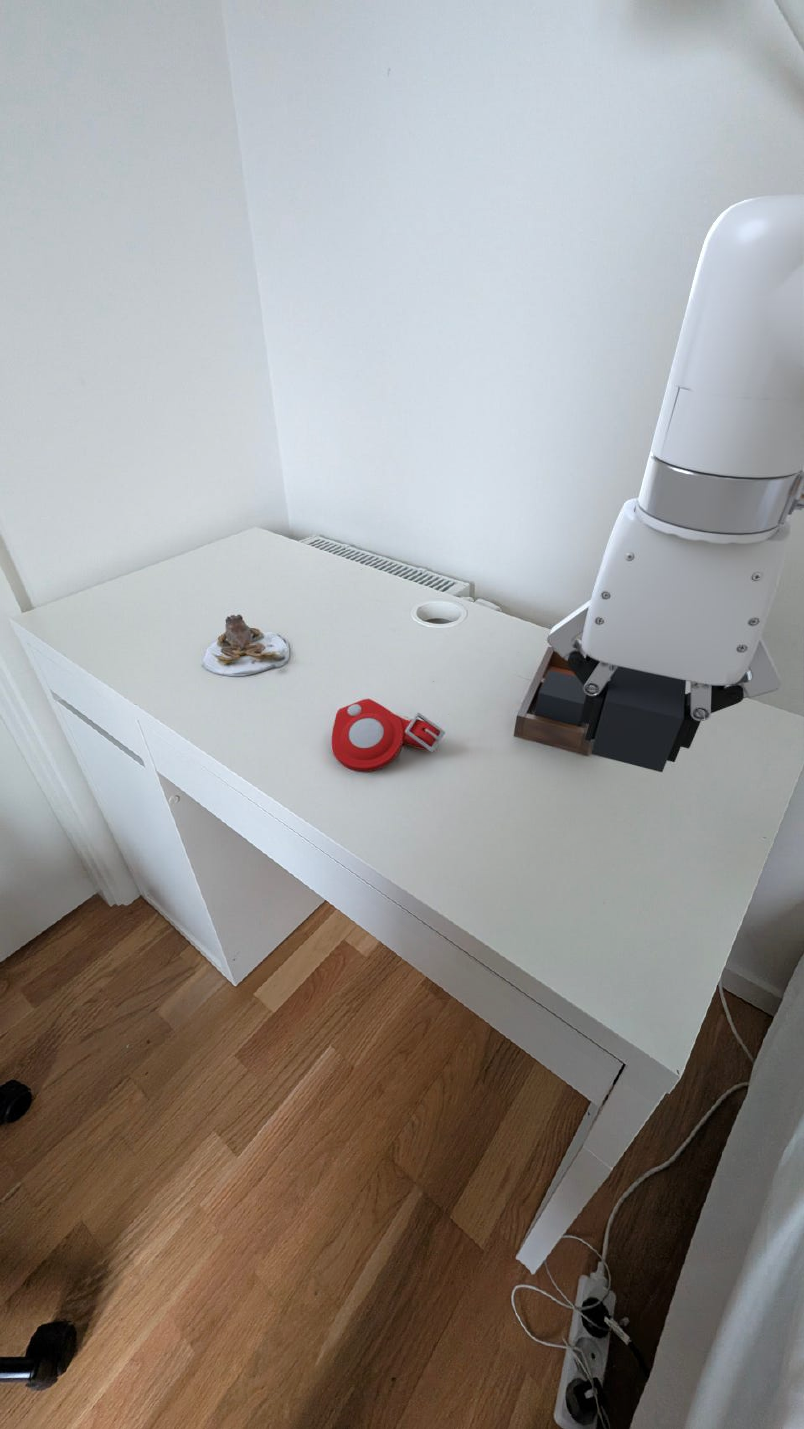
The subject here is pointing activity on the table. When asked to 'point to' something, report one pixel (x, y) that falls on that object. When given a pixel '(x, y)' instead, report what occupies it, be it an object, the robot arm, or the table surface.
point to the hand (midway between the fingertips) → (630, 737)
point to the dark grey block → (640, 718)
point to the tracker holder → (377, 735)
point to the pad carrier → (542, 727)
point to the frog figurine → (245, 650)
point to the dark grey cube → (561, 698)
